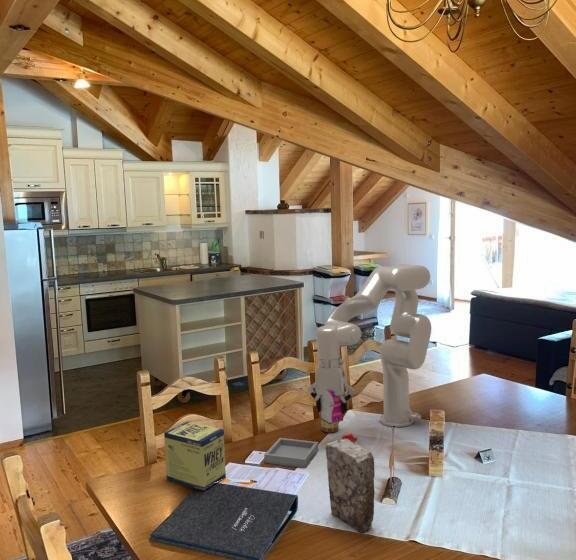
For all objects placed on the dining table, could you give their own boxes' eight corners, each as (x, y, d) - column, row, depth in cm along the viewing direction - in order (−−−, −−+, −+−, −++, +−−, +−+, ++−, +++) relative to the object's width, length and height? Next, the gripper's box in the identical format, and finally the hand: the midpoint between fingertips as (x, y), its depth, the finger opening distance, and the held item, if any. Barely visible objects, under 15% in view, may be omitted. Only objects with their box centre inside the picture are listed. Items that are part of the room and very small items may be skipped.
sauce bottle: (337, 433, 200) (336, 380, 198) (320, 433, 202) (318, 380, 200) (339, 427, 207) (338, 375, 205) (322, 426, 208) (321, 375, 206)
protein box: (204, 492, 161) (202, 441, 159) (165, 480, 169) (162, 431, 168) (227, 477, 170) (224, 428, 168) (189, 466, 178) (186, 420, 176)
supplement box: (329, 424, 186) (327, 392, 185) (320, 419, 192) (318, 387, 190) (344, 420, 189) (342, 388, 188) (334, 415, 194) (333, 384, 193)
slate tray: (318, 450, 187) (318, 442, 187) (305, 468, 174) (305, 459, 174) (280, 445, 192) (279, 437, 192) (264, 462, 179) (264, 454, 179)
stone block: (324, 515, 147) (322, 442, 144) (343, 505, 151) (341, 435, 149) (361, 536, 136) (359, 458, 134) (380, 525, 141) (379, 450, 138)
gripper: (356, 360, 188) (359, 409, 190) (308, 358, 194) (311, 406, 196) (351, 366, 181) (354, 417, 183) (301, 364, 187) (304, 414, 190)
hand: (331, 411), depth 190 cm, fingers closed on supplement box, 8 cm apart
